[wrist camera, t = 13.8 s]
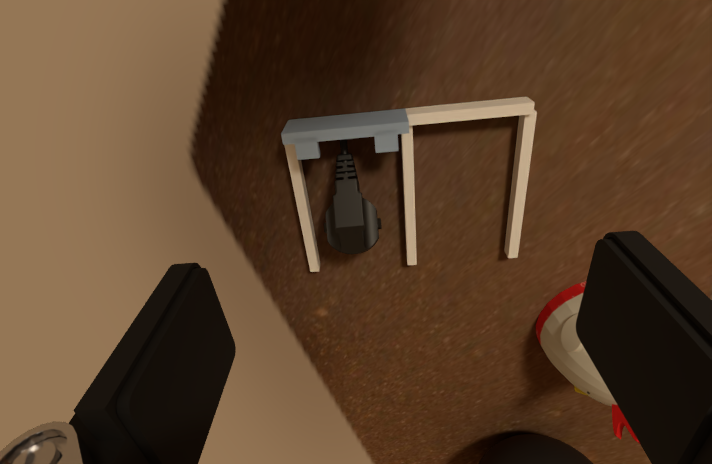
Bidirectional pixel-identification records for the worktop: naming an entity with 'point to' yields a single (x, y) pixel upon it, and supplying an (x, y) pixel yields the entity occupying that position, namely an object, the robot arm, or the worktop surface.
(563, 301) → the kitchen timer
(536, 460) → the coal bowl
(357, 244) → the power plug
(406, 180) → the cable organizer
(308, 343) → the worktop surface
